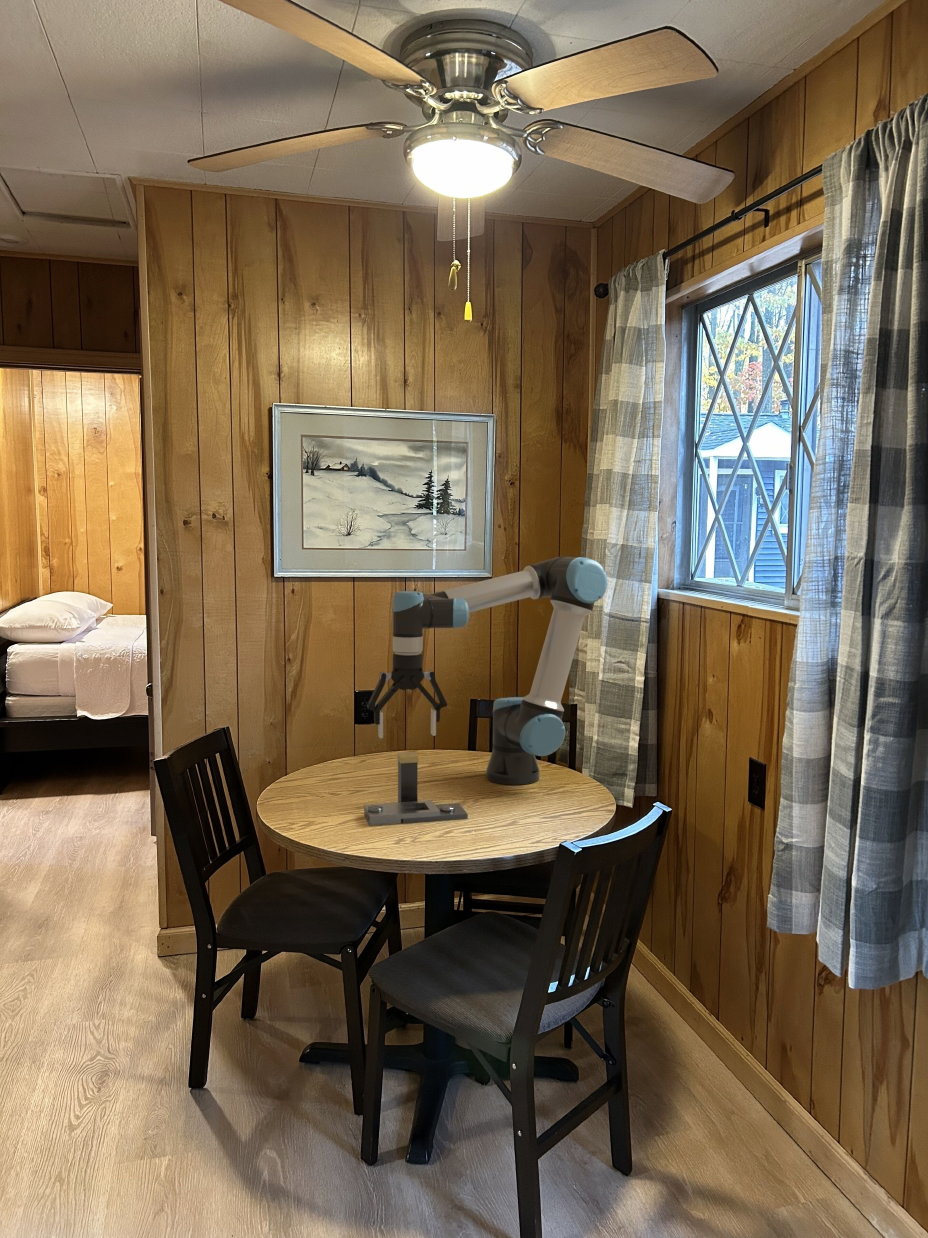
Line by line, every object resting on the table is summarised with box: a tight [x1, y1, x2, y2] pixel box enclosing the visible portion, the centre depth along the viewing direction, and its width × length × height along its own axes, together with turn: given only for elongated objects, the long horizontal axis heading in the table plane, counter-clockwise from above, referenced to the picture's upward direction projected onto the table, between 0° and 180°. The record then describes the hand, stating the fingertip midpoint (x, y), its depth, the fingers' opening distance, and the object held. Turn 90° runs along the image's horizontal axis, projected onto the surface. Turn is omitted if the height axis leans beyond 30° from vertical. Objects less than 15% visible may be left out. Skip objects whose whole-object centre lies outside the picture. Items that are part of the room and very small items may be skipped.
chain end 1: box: [363, 800, 440, 827], centre depth 222 cm, size 17×9×3 cm, turn 105°
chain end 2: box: [401, 802, 469, 824], centre depth 224 cm, size 16×9×2 cm, turn 105°
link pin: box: [396, 751, 419, 803], centre depth 232 cm, size 5×5×13 cm
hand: (407, 735), depth 231 cm, fingers open, 13 cm apart
